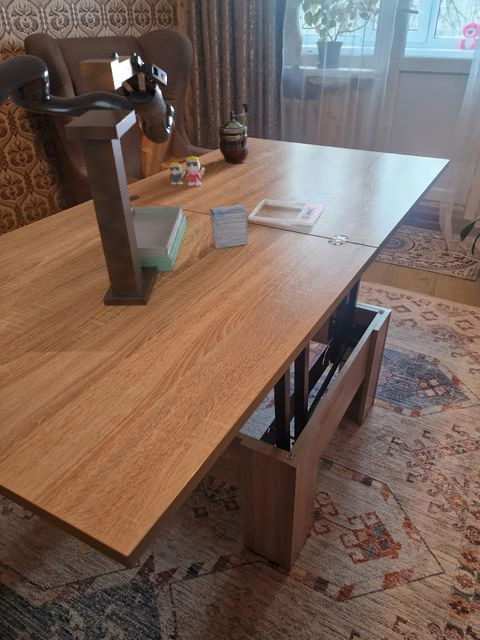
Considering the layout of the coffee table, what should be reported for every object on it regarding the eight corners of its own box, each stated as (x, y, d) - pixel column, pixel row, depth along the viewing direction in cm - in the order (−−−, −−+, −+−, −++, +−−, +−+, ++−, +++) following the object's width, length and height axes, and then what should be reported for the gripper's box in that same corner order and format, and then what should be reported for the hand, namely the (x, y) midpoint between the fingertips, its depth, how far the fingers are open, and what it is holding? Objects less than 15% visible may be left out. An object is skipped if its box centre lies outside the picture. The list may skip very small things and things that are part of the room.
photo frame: (313, 222, 124) (247, 215, 129) (313, 226, 125) (248, 219, 129) (325, 204, 136) (264, 198, 140) (324, 208, 136) (264, 202, 141)
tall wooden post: (104, 305, 93) (63, 126, 74) (120, 272, 104) (89, 110, 85) (146, 305, 93) (115, 125, 74) (157, 272, 104) (134, 109, 86)
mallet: (84, 90, 79) (79, 62, 77) (117, 73, 98) (114, 50, 96) (115, 90, 79) (110, 62, 77) (142, 73, 98) (139, 49, 96)
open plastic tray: (107, 272, 105) (102, 249, 101) (133, 225, 126) (130, 206, 123) (172, 271, 105) (169, 249, 102) (186, 225, 127) (184, 205, 124)
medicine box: (243, 238, 119) (242, 204, 114) (248, 245, 116) (247, 210, 111) (212, 242, 117) (209, 207, 112) (216, 249, 114) (214, 214, 109)
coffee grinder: (259, 156, 184) (259, 104, 173) (242, 165, 173) (241, 110, 163) (230, 153, 188) (228, 101, 178) (211, 162, 177) (208, 108, 167)
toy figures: (167, 184, 155) (164, 157, 150) (171, 180, 159) (169, 154, 154) (203, 186, 154) (201, 159, 149) (206, 182, 157) (205, 155, 152)
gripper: (175, 112, 111) (160, 77, 94) (114, 112, 111) (87, 78, 93) (174, 78, 110) (159, 36, 93) (112, 78, 110) (86, 37, 93)
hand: (123, 57), depth 93 cm, fingers closed on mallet, 3 cm apart
